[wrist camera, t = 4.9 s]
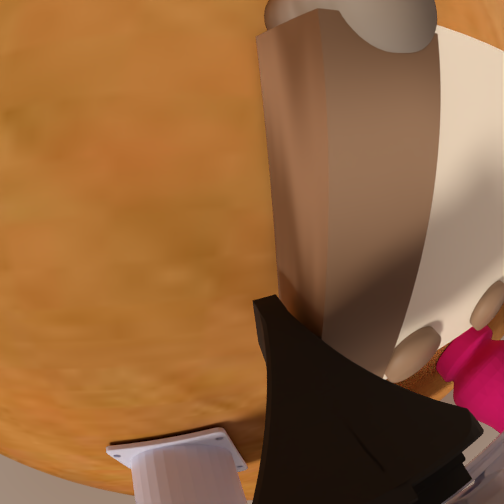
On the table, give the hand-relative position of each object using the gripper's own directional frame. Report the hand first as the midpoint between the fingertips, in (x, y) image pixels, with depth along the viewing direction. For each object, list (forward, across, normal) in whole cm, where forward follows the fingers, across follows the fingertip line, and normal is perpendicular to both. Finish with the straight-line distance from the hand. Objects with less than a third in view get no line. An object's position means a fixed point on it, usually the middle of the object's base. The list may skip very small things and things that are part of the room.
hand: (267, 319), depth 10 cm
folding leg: (+1, -2, -3) cm, 4 cm away
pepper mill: (+2, -18, +13) cm, 23 cm away
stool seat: (+1, -10, -2) cm, 10 cm away
